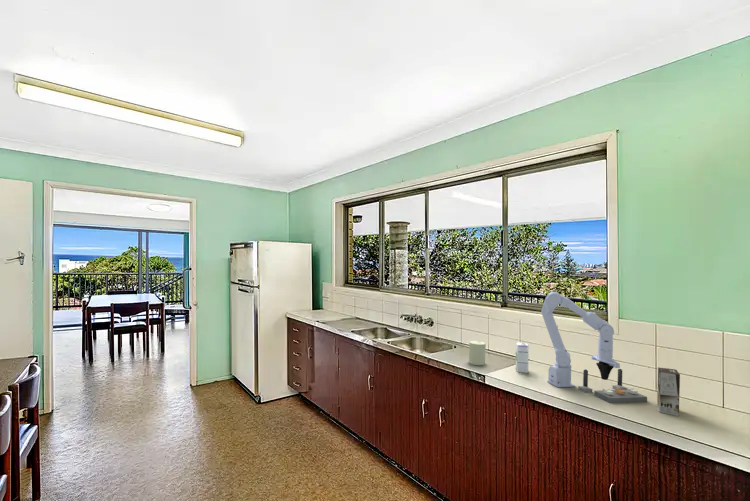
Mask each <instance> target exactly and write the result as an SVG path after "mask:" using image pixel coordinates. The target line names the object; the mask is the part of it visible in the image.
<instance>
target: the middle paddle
mask: <svg viewBox="0 0 750 501" xmlns="http://www.w3.org/2000/svg"><path fill="white" fill-rule="evenodd" d="M614 390H615V392H617V393H619V394H626V391H623V390H622V389H621V388H615V389H614Z"/></svg>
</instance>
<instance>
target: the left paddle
mask: <svg viewBox="0 0 750 501" xmlns="http://www.w3.org/2000/svg"><path fill="white" fill-rule="evenodd" d="M602 390H603V392H604V393H606V394H608V395H614V392H613V391H611V390H612V389H610V388H607V387H606V388H602Z"/></svg>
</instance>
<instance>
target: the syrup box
mask: <svg viewBox="0 0 750 501" xmlns="http://www.w3.org/2000/svg"><path fill="white" fill-rule="evenodd" d="M529 348H530V347H529V344H528V343H526V342H516V343H515V370H516V372H518V373H529V360H530V357H529V354H530V353H529V352H530V351H529Z"/></svg>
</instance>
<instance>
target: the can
mask: <svg viewBox="0 0 750 501" xmlns="http://www.w3.org/2000/svg"><path fill="white" fill-rule="evenodd" d="M486 344H487V343H486V342H484V341H480V340H479V341H478V340H470V341H469V344H468V350H469V351H468V363H469V364H470V365H474V366H484V365H486V349H487V348H486Z"/></svg>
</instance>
